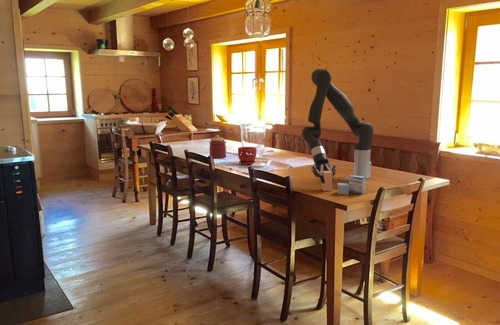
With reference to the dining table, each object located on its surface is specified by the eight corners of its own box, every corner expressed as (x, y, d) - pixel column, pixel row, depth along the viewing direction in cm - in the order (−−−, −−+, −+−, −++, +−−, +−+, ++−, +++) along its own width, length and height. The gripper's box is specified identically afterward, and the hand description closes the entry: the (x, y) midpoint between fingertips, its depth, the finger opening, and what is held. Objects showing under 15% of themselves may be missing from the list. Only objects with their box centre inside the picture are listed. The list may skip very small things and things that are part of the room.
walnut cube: (346, 185, 239) (347, 177, 238) (352, 187, 235) (352, 178, 234) (339, 186, 237) (339, 177, 236) (345, 188, 233) (345, 179, 232)
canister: (208, 156, 338) (207, 134, 335) (224, 155, 342) (223, 133, 339) (211, 159, 326) (211, 136, 323) (228, 158, 330) (227, 135, 326)
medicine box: (347, 192, 225) (348, 176, 223) (351, 190, 228) (351, 174, 227) (362, 194, 220) (363, 177, 219) (365, 192, 224) (366, 176, 222)
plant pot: (256, 165, 299) (256, 148, 296) (237, 165, 299) (237, 148, 297) (256, 162, 311) (256, 146, 309) (238, 162, 312) (238, 146, 310)
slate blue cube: (346, 192, 225) (346, 183, 224) (348, 194, 220) (348, 185, 219) (337, 192, 225) (337, 183, 224) (338, 194, 220) (339, 185, 219)
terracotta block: (328, 188, 232) (329, 170, 231) (332, 190, 228) (332, 172, 226) (320, 189, 231) (321, 171, 229) (324, 191, 227) (324, 172, 225)
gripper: (309, 152, 232) (317, 179, 222) (333, 151, 235) (343, 177, 226) (305, 160, 238) (313, 187, 228) (329, 159, 241) (338, 185, 232)
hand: (328, 182), depth 227 cm, fingers closed on terracotta block, 4 cm apart
